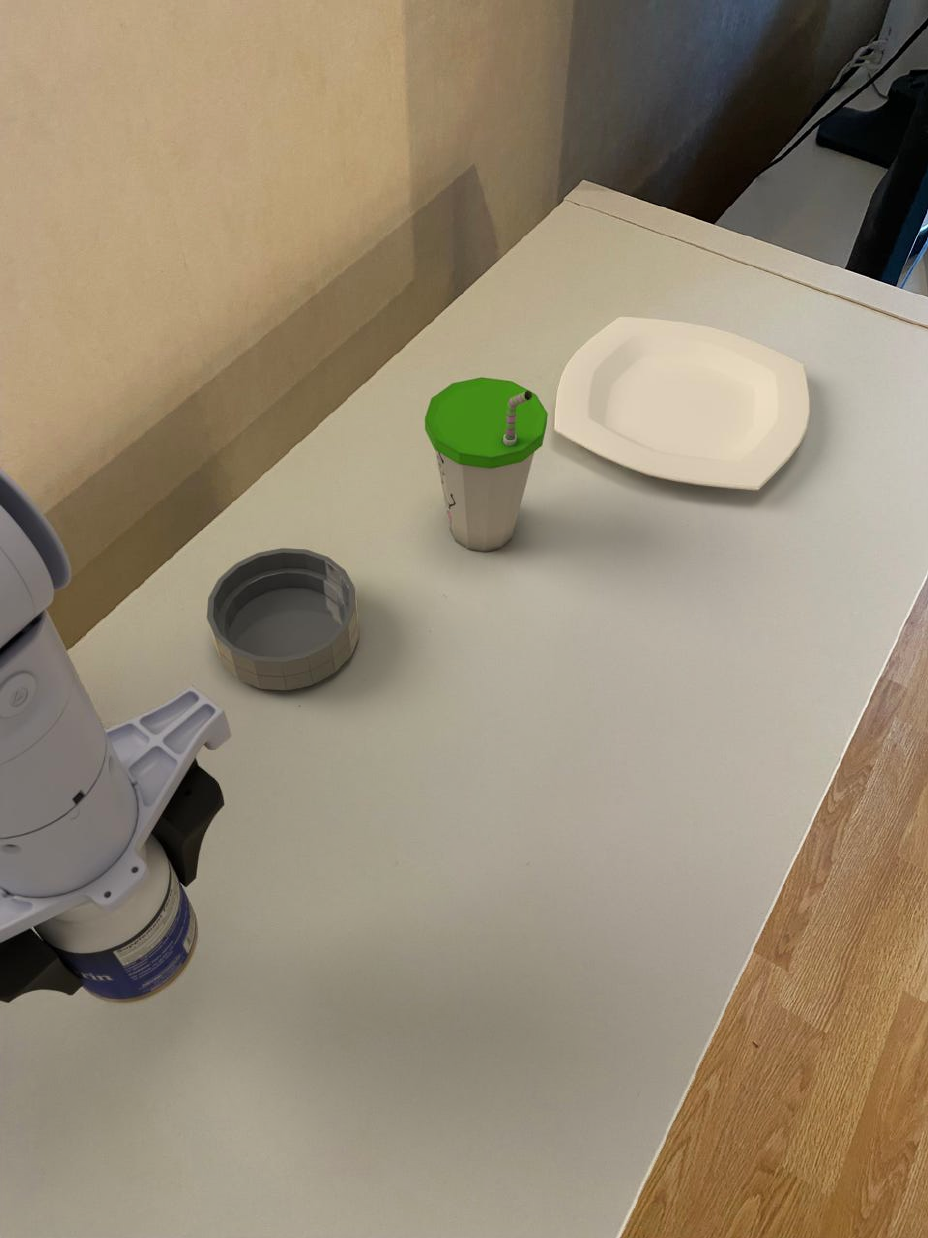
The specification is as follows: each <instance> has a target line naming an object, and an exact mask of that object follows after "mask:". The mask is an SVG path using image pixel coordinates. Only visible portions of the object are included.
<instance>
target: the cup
mask: <svg viewBox="0 0 928 1238" xmlns="http://www.w3.org/2000/svg"><path fill="white" fill-rule="evenodd" d="M548 415H549V414H548V412H547V410H546V408H545V407H544V405H543V404H542V402H541V400H540V399H539V397H538V395H537V394H536V393H534V392H532V391H531V390H529V389H527V388H525V387H523V386H521V385H520V384H518V383H516V382H515V381H512V380H507V379H497V378H491V377H490V378H489V377H482V376H481V377H476V378H472V379H467V380H461V381H457V382H453V383H451V384H449V385H448V386H447V387H445V388H444V389H442V390H441V391H440V392H438V393H437V394H435V395H434V396H432V397H431V398H430V402H429V404H428V407H427V411H426V414H425V416H424V430H425V432H426V434H427V436H428V438H429V440H430V443H431V445H432V447H433V448H434V451H435V457H436V461H437V468H438V472H439V479H440V482H441V483H440V484H441V489H442V493H443V498H444V505H445V510H446V514H447V520H448V524H449V530H450V532H451V534H452V537H453V539H454V541H455V542H456V543H458V544H459V545H461V546H462V547H464V548H465V549H467V550H469V551H475V552H481V553H487V552H492V551H495V550H500V549H502V548H503V547H504V546H505V545H507V544H508V543H509V542H510V541H511V540H512V539H513V536H514V531H515V529H516V524H517V520H518V516H519V512H520V509H521V504H522V501H523V497H524V494H525V488H526V485H527V483H528V479H529V473H530V470H531V467H532V463H533V458H534V455H535V452H536V451H537V450H539V449H540V448H542V446H543V443H544V439H545V434H546V429H547V425H548Z"/></svg>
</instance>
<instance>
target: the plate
mask: <svg viewBox="0 0 928 1238" xmlns="http://www.w3.org/2000/svg"><path fill="white" fill-rule="evenodd" d="M810 417H811V397H810V390H809V384H808V377H807V373H806V367H805V365H804V363H802V362H800V361H798V360H796V359H794V358H791V357H790V356H787V355H785V354H784V353H781V352H779V351H776V350H774V349H772V348H770V347H768V346H766V345H764V344H760V343H758V342H756V341H753V340H751V339H748V338H746V337H743V336H740V335H738V334H735V333H731V332H729V331H725V330H722V329H719V328H716V327H711V326H705V325H701V324H696V323H690V322H683V321H675V320H666V319H658V318H657V319H656V318H648V317H647V318H646V317H631V316H630V317H629V316H619V317H617V318H616V319H614V320H613V321H611V322H610V323H609V324H608V325H605V327H603V328H602V329H601V330H599V331H598V332H597V333H596V334H595V335H593V336H592V337H590V338H589V339H588V340H587V341H586V342H585V343H584V344H582V346H581V347H579V348H578V349H577V351H576V352H575V353H574V354H573V355H572V357H571V358H570V360H568V362H567V364H566V365H565V367H564V369H563V371H562V374H561V376H560V379H559V382H558V388H557V391H556V399H555V409H554V425H553V429H554V432H556V433H557V434H558V435H561V436H563V437H564V438H566V439H568V440H570V441H571V442H573V443H575V444H577V445H578V446H580V447H582V448H585V450H588V451H590V452H592V453H594V454H596V455H597V456H599V457H601V458H604V459H606V460H609V461H610V462H612V463H614V464H617V465H619V466H622V467H624V468H627V469H629V470H632V471H634V472H637V473H641V474H643V475H645V476H650V477H654V478H658V479H663V480H666V481H671V482H678V483H684V484H691V485H696V486H703V487H712V488H713V487H714V488H722V489H723V488H724V489H733V490H747V491H759V490H760V489H761V488H763V486H764V485H765V484H766V483H767V482H768V481H769V480H770V479H771V478H773V476H775V474H777V472H779V470H781V468H782V467H784V465H785V464H786V463H787V462H788V461H789V460H790V458H791V457H792V456H793V454H794V453H795V452H796V450H797V449H798V448H799V446H800V445H801V443H802V441H803V439H804V437H805V435H806V433H807V431H808V426H809V423H810Z"/></svg>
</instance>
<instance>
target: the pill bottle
mask: <svg viewBox="0 0 928 1238" xmlns="http://www.w3.org/2000/svg"><path fill="white" fill-rule="evenodd" d="M139 856H140V857H141V858H142V859H143V860H144V862H145V864H146V866H147V867H148V869H149V871H150V876H149V880H148V881H147V883H146V884H145V885H144V886H143V887H142V888H141V889H140V890H139V891H138V892H137V893H136V894H134V895H133V896H132V897H131V898H130V899H129V900H128V901H127V902H126V903H125V904H124V905H123V906H121V907H120V908H119V909H117V910H115V911H113V912H105V911H103V910H101V909H99V908H98V907H97V906H96V905H95V904H94V903H92V902H83V903H81V904H79V905H76V906H74V907H72V908H70V909H68V910H66V911H64V912H62V913H60V914H58V915H56V916H54V917H52V918H50V919H48V920H46V921H44V922H42V923H40V924H38V925H36V926H34V927H32V928H33V930H34V932H35V933H36V934H37V935H38V936H39V937H40V938H41V939H42V940H43V941H44V942H45V943H46V944H47V945H48V946H49V947H50V948H51V949H52V950H53V951H54V952H55V953H56V954H57V955H58V956H59V959H60V960H61V961H62V962H63V963H64V964H65V965H66V966H68V967H69V968H70V969H71V970H72V971H73V972H74V973H75V974H76V975H77V976H78V977H79V978H80V979H81V980H82V982H83V983H84V985H83V986H82V987H81V988H82V989H83V990H84V991H85V992H86V993H88V994H89V995H90V996H92V997H94V998H95V999H97V1000H100V1001H102V1002H104V1003H108V1004H113V1005H122V1006H124V1005H125V1006H127V1005H135V1004H139V1003H142V1002H147V1001H149V1000H151V999H153V998H156V997H157V996H159V995H160V994H163V993H164V992H165V991H167V990H168V989H170V988H171V987H172V986H173V985H174V984H176V982H178V981H179V979H180V978H181V977H182V976H183V975H184V973H185V972H186V970H187V969H188V967H189V966H190V964H191V962H192V960H193V958H194V955H195V953H196V949H197V945H198V940H199V925H198V924H199V923H198V919H197V915H196V912H195V909H194V907H193V905H192V903H191V901H190V898H189V897H188V895H187V893H186V891H185V889H184V886H183V885H182V884H181V883H180V881H179V879H178V877H177V875H176V873H175V871H174V869H173V867H172V865H171V863H170V861H169V859H168V857H167V855H166V852H165V851H164V849H163V847H162V846H161V844H160V843H159V841H158V840H157V839H156V838H155V837H154V836H153V835H152V834H151V833H150V834H149V836H148V838H147V839H146V841H145V843H144V844H143V846H142V848H141V850H140V851H139Z"/></svg>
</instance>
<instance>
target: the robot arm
mask: <svg viewBox="0 0 928 1238" xmlns="http://www.w3.org/2000/svg"><path fill="white" fill-rule="evenodd" d="M70 561H71V560H70V558H69V556H68V553H67V551H66V549H65V546H64V545H63V543H62V540H61V539H60V537H59V536H58V534H57V532H56V531H55V529H54V527H53V526H52V524H51V522H50V521H49V520H48V519H47V518H46V516H45V514H44V513H43V512H42V510H40V508H39V507H38V506H37V504H36V503H35V502H34V501H33V500H32V498H30V496H29V495H28V494H27V493H26V491H24V489H23V488H22V487H21V486H20V485H19V484H18V483H17V482H16V481H15V480H14V479H13V478H12V477H11V476H10V475H9V474H8V473H7V472H5V471H4V470H3V469H2V468H1V467H0V1002H3V1003H6V1004H10V1003H11V1002H13V1001H14V1000H16V999H17V998H18V997H21V996H23V995H25V994H28V993H31V992H36V991H52V992H58V993H62V994H66V995H67V996H69V997H70V996H73V995H75V994H76V993H77V992H78V991H79V990H80V989H81V988H83V987H82V986H83V985H84V983H83V982H82V980H81V979H80V978H79V977H78V976H77V975H76V974H75V973H74V972H73V971H72V970H71V969H70V968H69V967H68V966H66V965H65V964H64V963H63V962H62V961H61V960H60V959H59V956H58V955H57V954H56V953H55V952H54V951H53V950H52V949H51V948H50V947H49V946H48V945H47V944H46V943H45V942H44V941H43V940H42V939H41V938H40V936H39V935H38V934H37V932H36V931H35V930H34V929H32V928H33V927H34V926H36V925H38V924H40V923H42V922H44V921H46V920H48V919H50V918H52V917H54V916H56V915H58V914H60V913H62V912H64V911H66V910H68V909H70V908H72V907H74V906H76V905H79V904H81V903H83V902H92V903H94V904H95V905H96V906H97V907H98V908H99V909H101V910H103V911H105V912H113V911H115V910H117V909H119V908H120V907H121V906H123V905H124V904H125V903H126V902H127V901H128V900H129V899H130V898H131V897H132V896H133V895H134V894H136V893H137V892H138V891H139V890H140V889H141V888H142V887H143V886H144V885H145V884H146V883H147V881H148V880H149V876H150V871H149V869H148V867H147V866H146V864H145V862H144V860H143V859H142V858H141V857H140V856H139V851H140V850H141V848H142V846H143V844H144V843H145V841H146V839H147V838H148V836H149V834H150V833H151V834H152V835H153V836H154V837H155V838H156V839H157V840H158V841H159V843H160V844H161V846H162V847H163V849H164V851H165V852H166V855H167V857H168V859H169V861H170V863H171V865H172V867H173V869H174V871H175V873H176V875H177V877H178V879H179V881H180V883H181V885H182V887H183V888H187V887H188V886H190V885H191V884H192V883H193V882H194V881H195V880H196V879H197V875H198V874H197V873H198V866H199V860H200V859H199V858H200V853H201V848H202V846H203V845H202V844H203V841H204V838H205V835H206V833H207V832H208V829H209V827H210V825H211V823H212V822H213V820H214V818H215V817H216V816H217V814H218V813H219V812H220V811H221V810H222V809H223V807H224V806H225V799H224V793H223V791H222V788H221V785H220V783H219V782H218V781H217V779H216V778H215V777H214V776H212V775H211V774H210V773H209V772H207V771H206V770H205V769H204V768H203V767H201V766H200V765H199V762H198V759H197V756H198V754H199V753H200V751H201V750H202V748H203V747H205V748H206V749H207V750H209V751H216V750H217V749H219V748H220V747H221V746H222V745H224V743H226V742H227V741H228V740H229V739H230V738H231V737H232V730H231V728H230V725H229V721H228V718H227V715H226V711H225V709H224V708H222V707H221V706H220V705H219V704H217V703H216V702H215V701H213V700H212V699H211V698H210V697H208V696H207V695H206V694H204V693H203V692H202V691H201V690H200V689H198V688H197V687H195V686H194V685H192V684H191V685H188V687H186V688H185V689H183V690H182V691H181V692H180V693H178V694H177V695H176V696H174V697H172V698H171V699H169V700H168V701H166V702H164V703H163V704H161V705H158V706H156V707H154V708H152V709H151V710H149V711H146V712H143V713H142V714H139V715H138V716H135V717H132V718H130V719H128V720H125V721H123V722H121V723H119V724H117V725H114V726H111V727H109V728H107V729H105V727H104V725H103V723H102V720H101V718H100V716H99V714H98V712H97V709H96V708H95V705H94V703H93V702H92V699H91V698H90V696H89V693H88V691H87V690H86V687H85V685H84V683H83V681H82V679H81V677H80V674H79V672H78V671H77V669H76V667H75V665H74V663H73V661H72V659H71V657H70V654H69V652H68V651H67V649H66V646H65V645H64V642H63V640H62V638H61V635H60V633H59V632H58V630H57V628H56V625H55V624H54V622H53V620H52V618H51V615H50V613H49V612H48V609H47V608H48V607H50V606H51V604H52V603H53V601H54V598H55V591H59V590H63V589H65V588H67V587H68V586H69V584H70V583H71V580H72V573H73V572H72V566H71V562H70Z"/></svg>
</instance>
